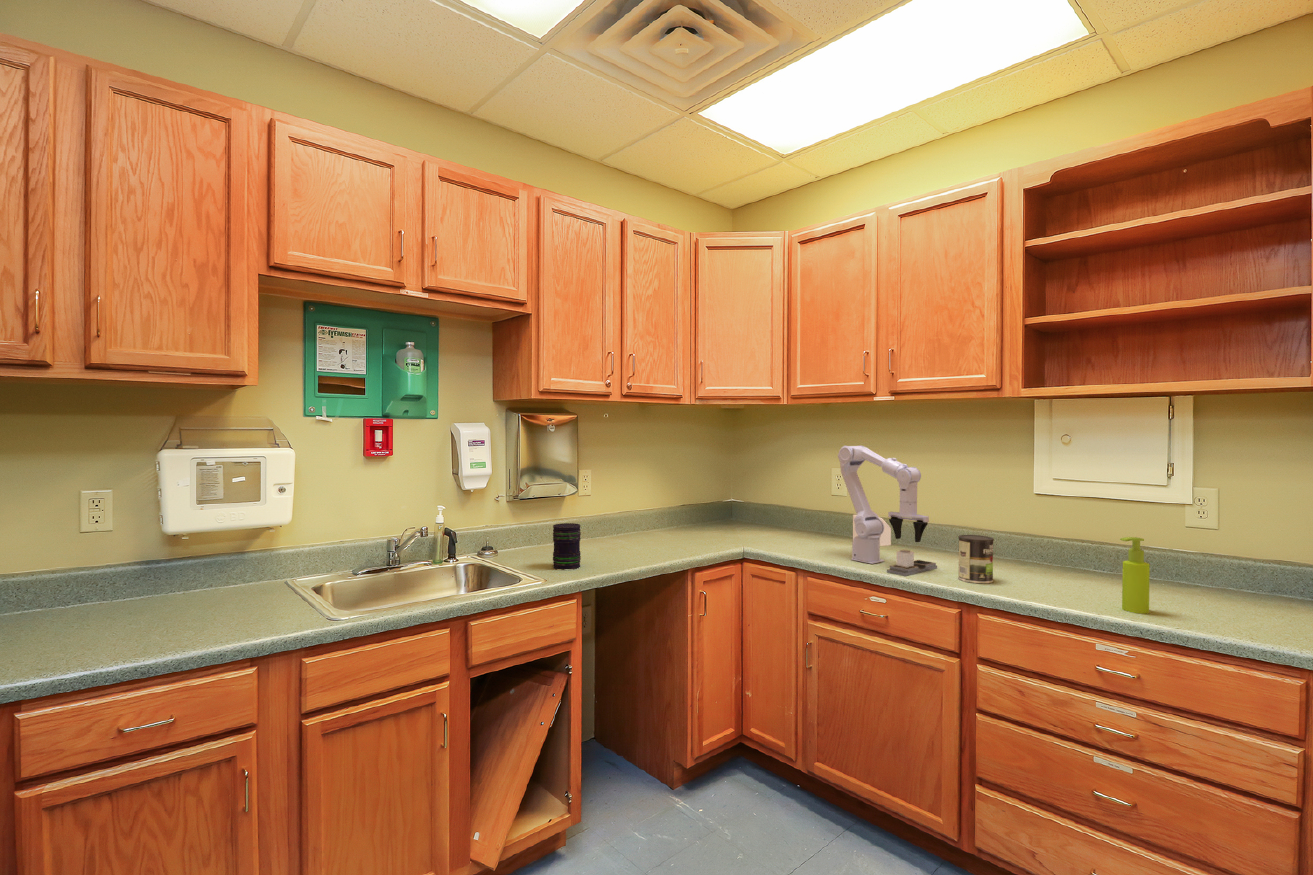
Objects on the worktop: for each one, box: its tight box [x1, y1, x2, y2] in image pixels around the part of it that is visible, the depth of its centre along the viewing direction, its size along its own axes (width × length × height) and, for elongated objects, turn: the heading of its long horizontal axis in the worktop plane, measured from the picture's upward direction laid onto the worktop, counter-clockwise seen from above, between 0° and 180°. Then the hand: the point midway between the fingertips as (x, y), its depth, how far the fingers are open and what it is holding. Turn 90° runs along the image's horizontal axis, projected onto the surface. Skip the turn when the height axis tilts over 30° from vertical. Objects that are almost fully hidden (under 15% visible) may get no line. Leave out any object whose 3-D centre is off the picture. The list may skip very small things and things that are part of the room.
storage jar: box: [552, 522, 582, 570], centre depth 224 cm, size 10×10×15 cm
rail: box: [886, 559, 938, 577], centre depth 219 cm, size 7×20×2 cm, turn 127°
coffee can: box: [958, 534, 995, 585], centre depth 206 cm, size 10×10×14 cm
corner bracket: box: [852, 514, 892, 547], centre depth 270 cm, size 11×11×12 cm
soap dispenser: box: [1119, 536, 1151, 615], centre depth 171 cm, size 6×7×20 cm
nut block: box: [896, 549, 915, 569], centre depth 217 cm, size 4×4×6 cm
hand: (907, 540), depth 221 cm, fingers open, 7 cm apart
